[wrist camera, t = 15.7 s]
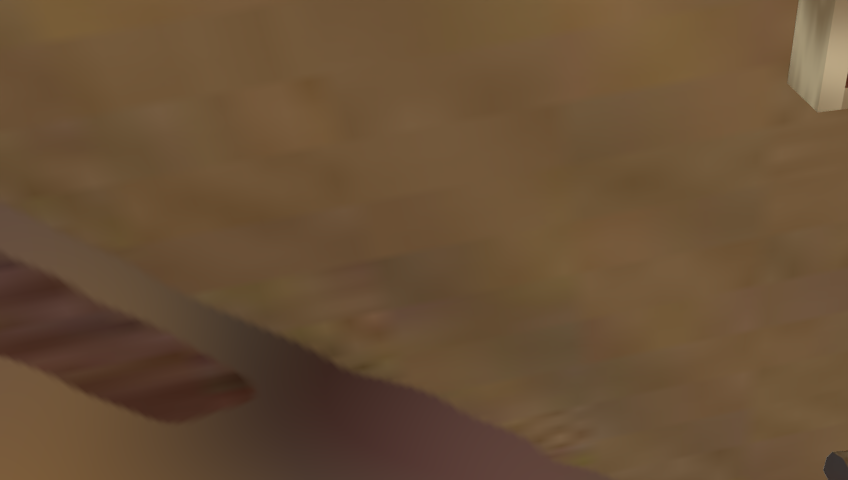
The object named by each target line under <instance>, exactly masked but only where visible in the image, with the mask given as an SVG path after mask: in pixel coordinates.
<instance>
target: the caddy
mask: <svg viewBox="0 0 848 480" xmlns="http://www.w3.org/2000/svg"><path fill="white" fill-rule="evenodd" d="M788 84H789V85H790V86H791V87H792V88H793V89H794V90H795V91H796V92H797V93H798V94H799V95H800V96H801V97H802V98H803V99H804V100H805V101H806V102H807V103H808V104H809V105H810V106H811V107H812V108H814V109H815V110H816V111H817V112H824V111H833V110H841V109H848V0H799V3H798V10H797V18H796V25H795V32H794V40H793V47H792V54H791V62H790V69H789V76H788Z"/></svg>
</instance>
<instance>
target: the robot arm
mask: <svg viewBox="0 0 848 480" xmlns="http://www.w3.org/2000/svg"><path fill="white" fill-rule="evenodd" d="M823 471H824V473H825V475H826V477H827V478H828V480H848V451H838V452H832V453H831V454H830V455H829V456H828V457H827V458H826V462H825V466H824V469H823Z"/></svg>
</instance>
